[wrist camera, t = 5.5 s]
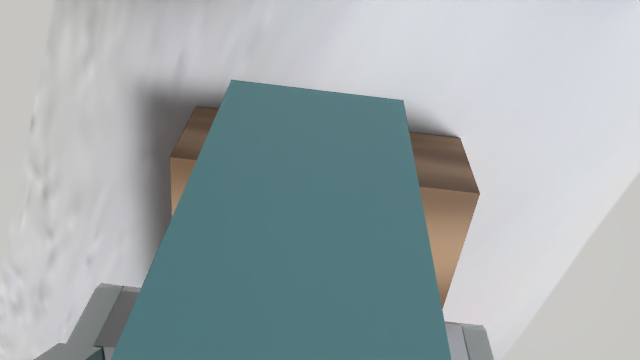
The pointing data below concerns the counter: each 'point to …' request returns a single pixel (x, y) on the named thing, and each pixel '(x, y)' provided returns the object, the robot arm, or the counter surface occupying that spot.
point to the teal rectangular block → (295, 239)
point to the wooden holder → (433, 176)
